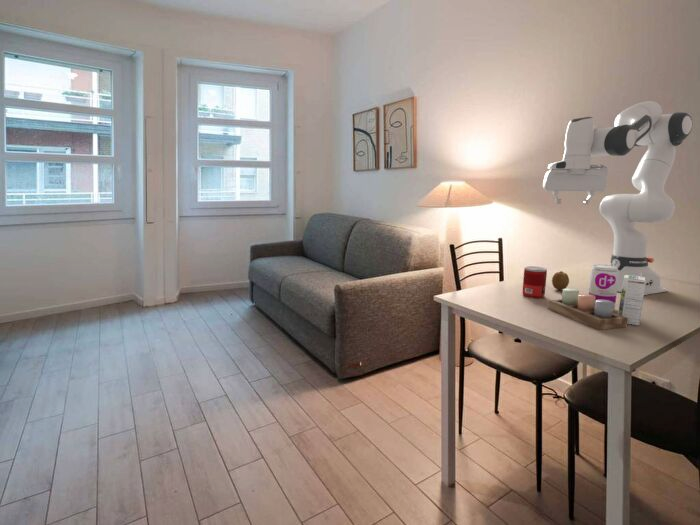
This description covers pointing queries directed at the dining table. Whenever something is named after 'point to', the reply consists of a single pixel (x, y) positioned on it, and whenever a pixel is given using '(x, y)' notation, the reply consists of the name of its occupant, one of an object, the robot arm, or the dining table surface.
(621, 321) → the wooden tray
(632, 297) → the syrup box
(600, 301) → the grey button
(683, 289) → the dining table surface
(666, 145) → the robot arm
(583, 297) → the pink rounded cylinder
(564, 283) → the fruit
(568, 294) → the sage button
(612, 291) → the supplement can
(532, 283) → the canned food
